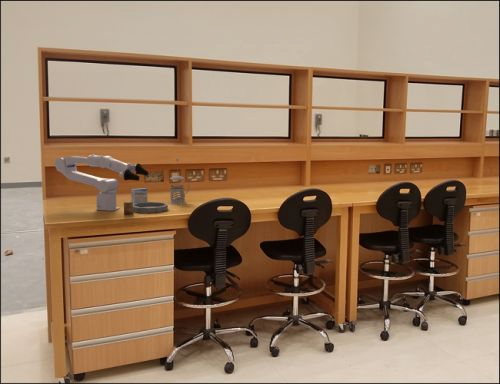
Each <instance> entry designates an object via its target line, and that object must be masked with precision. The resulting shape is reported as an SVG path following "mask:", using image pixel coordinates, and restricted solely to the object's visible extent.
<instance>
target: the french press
mask: <svg viewBox="0 0 500 384" xmlns="http://www.w3.org/2000/svg"><path fill="white" fill-rule="evenodd" d="M178 161H179V158H175V162H178ZM176 170H177V171H176V175H173V176H172V177H170V178H169V180H171V181H176V184H172V185H171V187H170V201H169V202H168V204H170V205H183V204H185V205H186V203H187V201H186V198H185V197H186V196H185V195H186V194H188V192H189V191H190V187H191V186H190V183H189V182H188V181H186V180H185V177H183V176H181V175H178V168H176ZM178 181H183V184H185V183H187V185H188V189H187V191H186V192H185V188H184V186H185V185H183V184H178V183H179V182H178Z"/></svg>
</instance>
